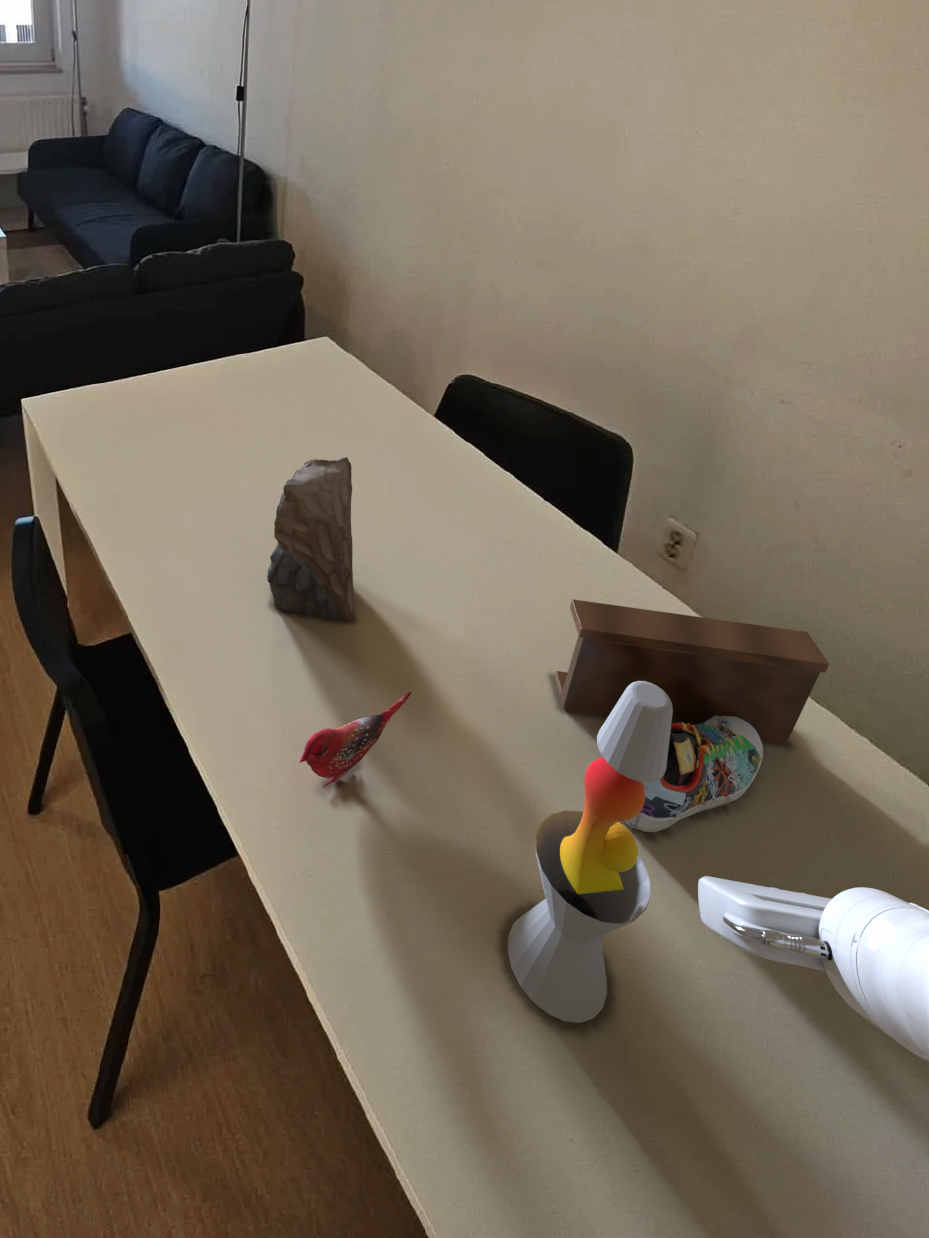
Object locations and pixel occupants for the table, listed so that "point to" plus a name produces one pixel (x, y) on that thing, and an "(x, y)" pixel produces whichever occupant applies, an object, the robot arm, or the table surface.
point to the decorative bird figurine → (345, 744)
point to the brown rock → (314, 542)
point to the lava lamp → (593, 864)
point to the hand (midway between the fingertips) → (787, 900)
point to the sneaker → (701, 771)
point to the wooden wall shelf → (691, 666)
